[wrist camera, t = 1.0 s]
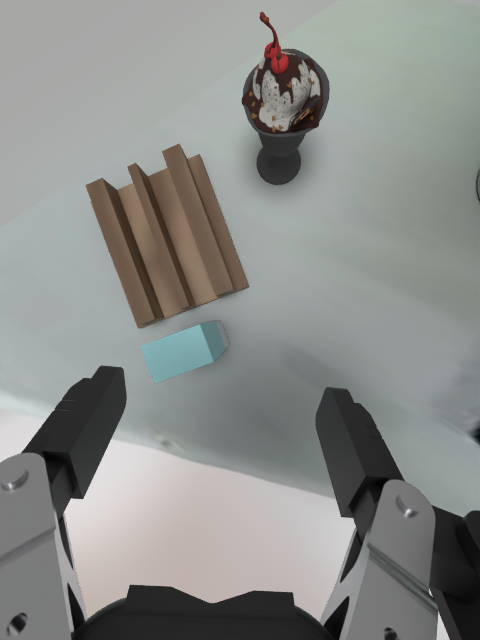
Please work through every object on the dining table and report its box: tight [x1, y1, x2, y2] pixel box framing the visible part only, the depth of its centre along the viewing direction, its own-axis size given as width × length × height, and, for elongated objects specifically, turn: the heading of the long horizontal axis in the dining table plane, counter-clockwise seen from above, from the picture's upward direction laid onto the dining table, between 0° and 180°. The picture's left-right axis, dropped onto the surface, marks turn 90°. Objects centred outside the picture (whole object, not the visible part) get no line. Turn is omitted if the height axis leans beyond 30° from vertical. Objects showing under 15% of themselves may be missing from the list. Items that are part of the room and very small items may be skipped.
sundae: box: [242, 12, 329, 184], centre depth 24 cm, size 7×7×15 cm
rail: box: [86, 144, 249, 328], centre depth 31 cm, size 14×16×4 cm
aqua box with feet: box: [140, 320, 229, 384], centre depth 27 cm, size 5×3×11 cm, turn 111°
